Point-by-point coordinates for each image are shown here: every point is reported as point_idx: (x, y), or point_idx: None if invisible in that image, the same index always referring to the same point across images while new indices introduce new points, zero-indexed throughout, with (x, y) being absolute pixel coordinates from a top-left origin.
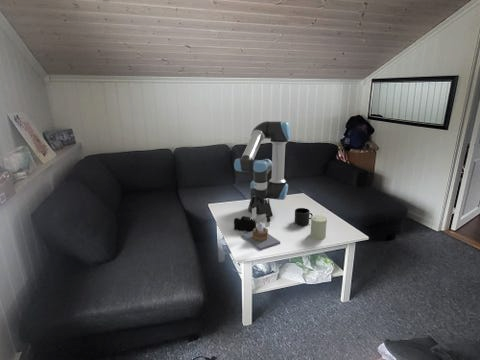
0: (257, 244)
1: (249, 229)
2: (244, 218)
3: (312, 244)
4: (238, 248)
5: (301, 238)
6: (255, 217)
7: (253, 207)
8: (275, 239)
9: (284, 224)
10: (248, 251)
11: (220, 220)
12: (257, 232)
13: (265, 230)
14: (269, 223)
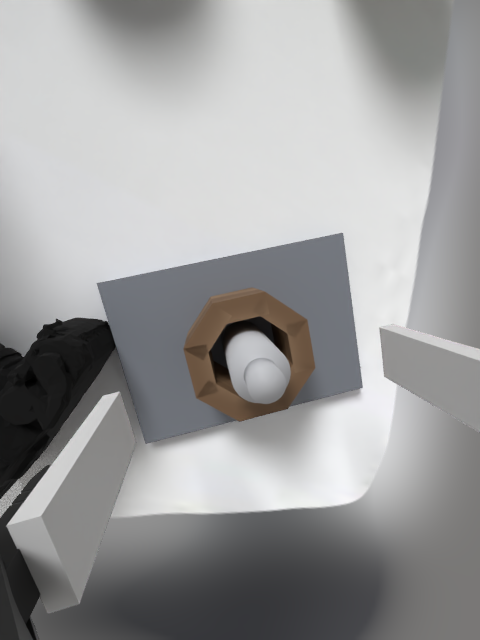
0: (315, 387)
1: (94, 375)
2: (8, 465)
3: (438, 19)
4: (288, 485)
5: (336, 40)
6: (122, 406)
7: (23, 589)
8: (304, 250)
9: (51, 18)
10: (338, 444)
11: None
12: (282, 395)
13: (273, 318)
14: (420, 336)
